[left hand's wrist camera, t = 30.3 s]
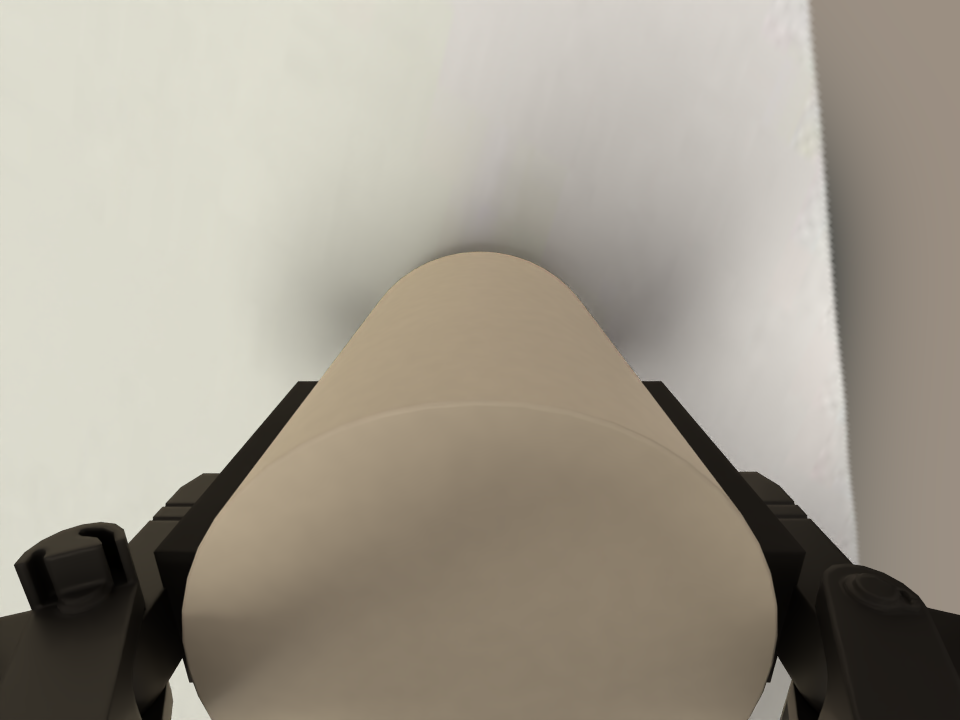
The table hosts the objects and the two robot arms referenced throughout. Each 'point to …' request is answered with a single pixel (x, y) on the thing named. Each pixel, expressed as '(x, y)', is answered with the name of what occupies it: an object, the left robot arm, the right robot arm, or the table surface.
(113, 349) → the table surface
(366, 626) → the can
